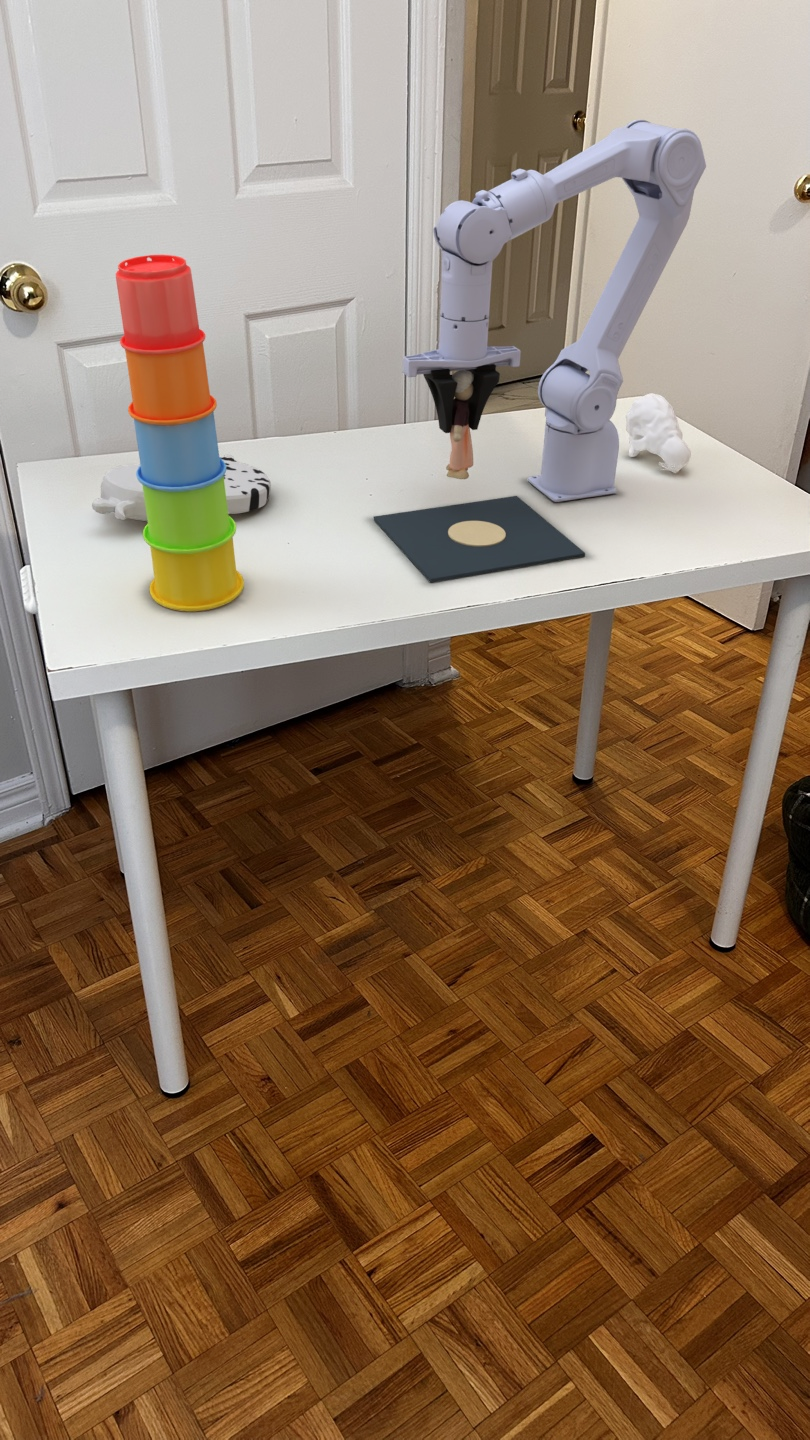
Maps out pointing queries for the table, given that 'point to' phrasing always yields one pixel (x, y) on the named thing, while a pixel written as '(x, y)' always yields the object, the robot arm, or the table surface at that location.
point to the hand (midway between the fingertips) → (458, 428)
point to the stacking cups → (176, 437)
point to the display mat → (476, 538)
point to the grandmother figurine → (461, 427)
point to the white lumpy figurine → (656, 431)
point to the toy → (127, 496)
